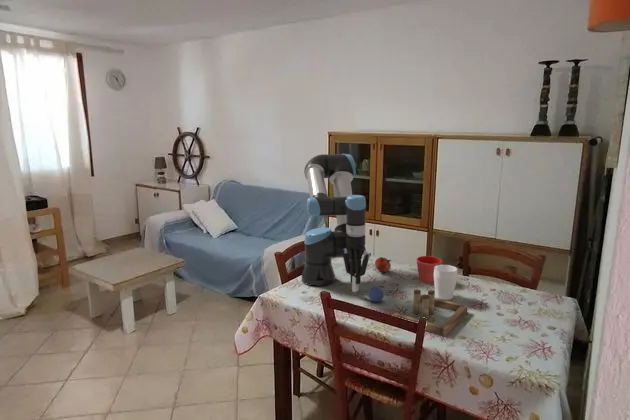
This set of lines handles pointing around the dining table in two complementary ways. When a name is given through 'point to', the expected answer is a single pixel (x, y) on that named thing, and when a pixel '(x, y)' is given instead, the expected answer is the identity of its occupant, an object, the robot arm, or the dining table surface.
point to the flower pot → (427, 268)
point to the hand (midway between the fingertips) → (355, 290)
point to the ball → (376, 294)
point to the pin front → (416, 301)
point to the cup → (445, 281)
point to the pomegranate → (382, 264)
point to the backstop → (449, 324)
